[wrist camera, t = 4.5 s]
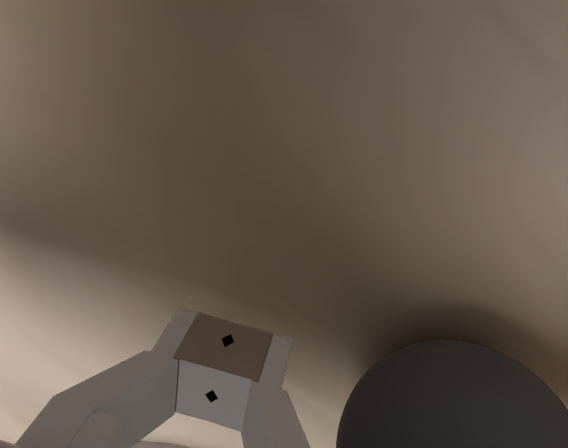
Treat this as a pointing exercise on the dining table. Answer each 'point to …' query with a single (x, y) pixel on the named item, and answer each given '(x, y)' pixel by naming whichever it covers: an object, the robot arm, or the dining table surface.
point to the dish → (155, 445)
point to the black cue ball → (451, 402)
